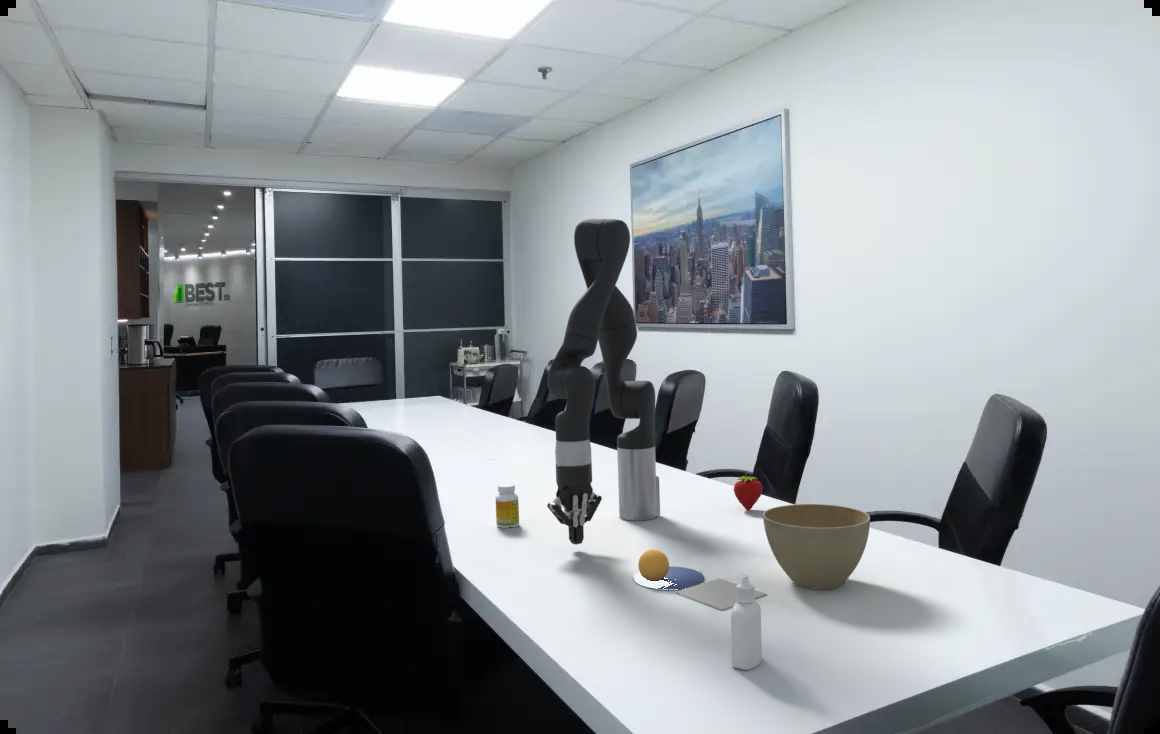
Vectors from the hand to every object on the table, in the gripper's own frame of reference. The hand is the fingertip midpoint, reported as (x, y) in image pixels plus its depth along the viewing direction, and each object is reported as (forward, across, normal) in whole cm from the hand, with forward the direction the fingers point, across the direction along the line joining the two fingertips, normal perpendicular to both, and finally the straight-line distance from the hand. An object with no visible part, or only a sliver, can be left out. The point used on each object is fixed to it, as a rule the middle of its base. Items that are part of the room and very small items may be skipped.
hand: (576, 543), depth 160 cm
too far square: (+2, -3, +38) cm, 38 cm away
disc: (+2, -2, +26) cm, 26 cm away
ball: (-1, +1, +25) cm, 25 cm away
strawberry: (+2, -52, +1) cm, 52 cm away
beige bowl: (+2, -20, +45) cm, 49 cm away
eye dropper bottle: (+2, +14, +59) cm, 61 cm away
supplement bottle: (+2, 0, -28) cm, 28 cm away
